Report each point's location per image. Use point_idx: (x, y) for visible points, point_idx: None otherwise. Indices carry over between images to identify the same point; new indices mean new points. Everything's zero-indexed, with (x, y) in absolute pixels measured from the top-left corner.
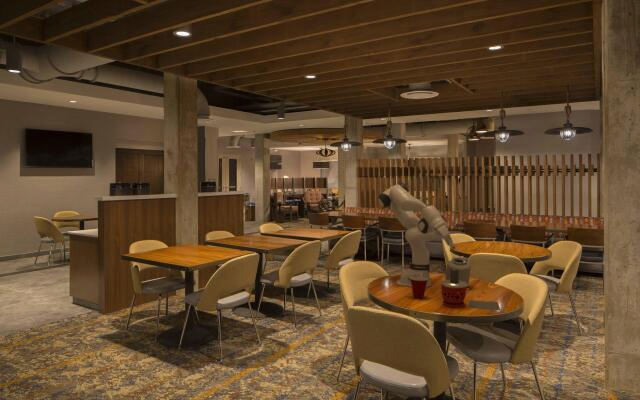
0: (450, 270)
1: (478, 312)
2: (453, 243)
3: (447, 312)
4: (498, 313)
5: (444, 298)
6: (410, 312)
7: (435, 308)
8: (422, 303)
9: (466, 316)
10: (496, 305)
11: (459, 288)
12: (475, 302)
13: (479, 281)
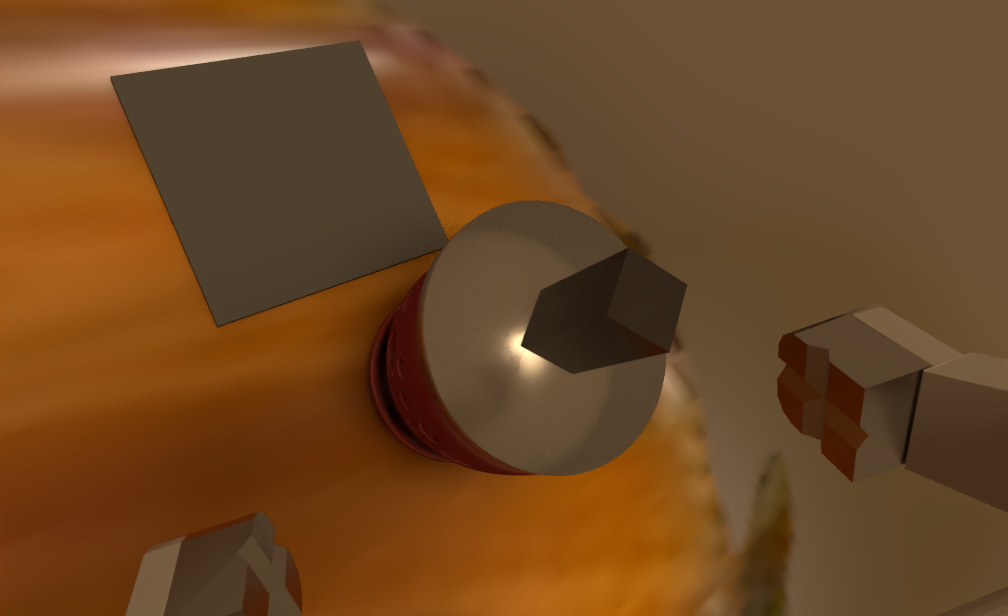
0: (662, 349)
1: (491, 171)
2: (883, 313)
3: None
4: (427, 54)
5: None
6: (756, 524)
7: None
8: (555, 599)
9: (609, 216)
10: (241, 77)
11: None
12: (259, 246)
13: None
